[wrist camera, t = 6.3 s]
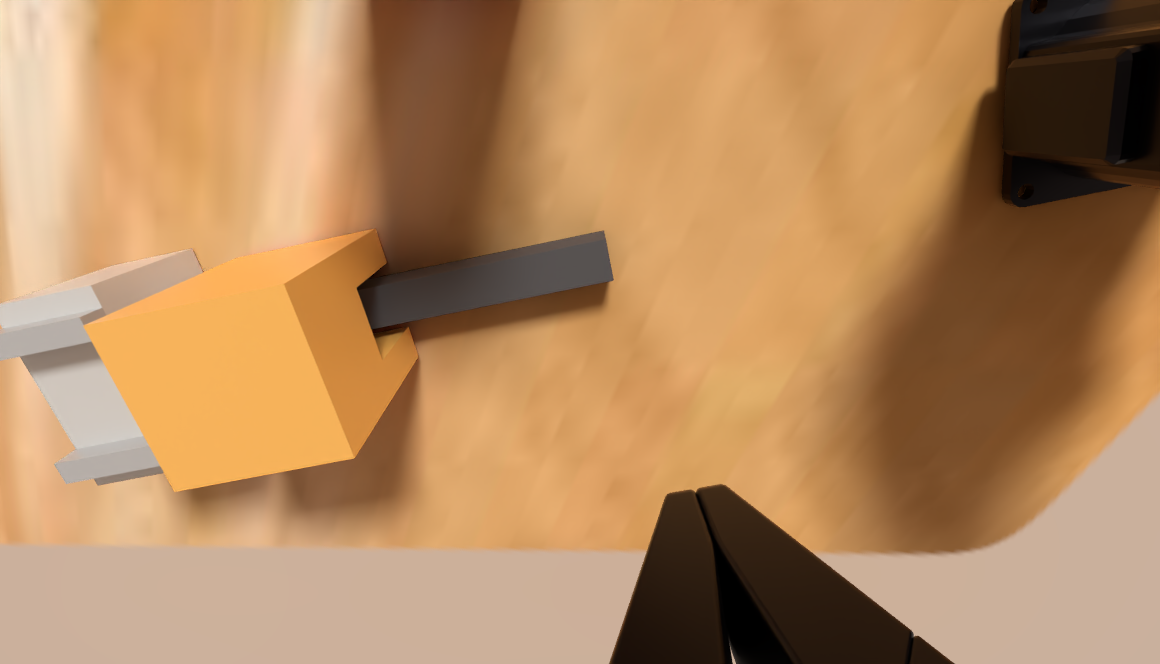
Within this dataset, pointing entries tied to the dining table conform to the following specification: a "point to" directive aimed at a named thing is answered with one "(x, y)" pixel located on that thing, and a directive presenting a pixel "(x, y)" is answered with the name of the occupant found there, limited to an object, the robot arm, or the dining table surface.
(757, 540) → the robot arm
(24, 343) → the grey i-beam piece
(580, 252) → the bar
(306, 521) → the dining table surface
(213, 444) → the notched orange cube
